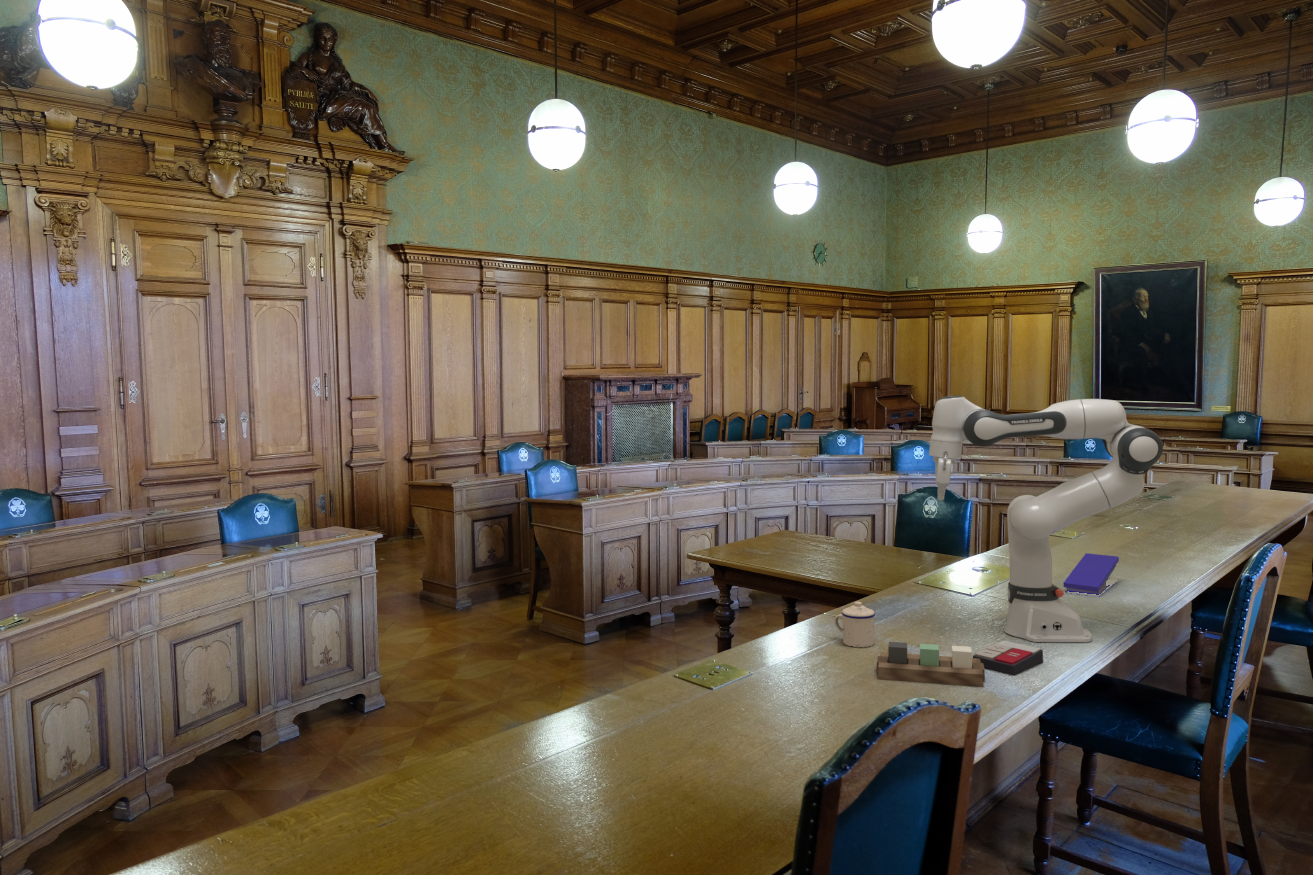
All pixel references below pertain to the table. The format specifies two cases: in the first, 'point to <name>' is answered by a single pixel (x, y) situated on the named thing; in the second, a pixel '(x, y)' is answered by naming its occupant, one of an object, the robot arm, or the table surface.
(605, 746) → the table surface
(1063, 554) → the table surface
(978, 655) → the push button box
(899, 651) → the dark grey block
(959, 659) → the cream white block
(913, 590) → the table surface
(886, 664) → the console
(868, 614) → the teacup with lid
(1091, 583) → the purple sloped board
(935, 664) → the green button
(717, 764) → the table surface
